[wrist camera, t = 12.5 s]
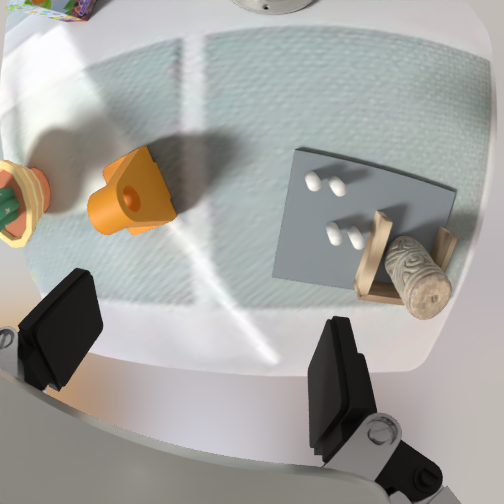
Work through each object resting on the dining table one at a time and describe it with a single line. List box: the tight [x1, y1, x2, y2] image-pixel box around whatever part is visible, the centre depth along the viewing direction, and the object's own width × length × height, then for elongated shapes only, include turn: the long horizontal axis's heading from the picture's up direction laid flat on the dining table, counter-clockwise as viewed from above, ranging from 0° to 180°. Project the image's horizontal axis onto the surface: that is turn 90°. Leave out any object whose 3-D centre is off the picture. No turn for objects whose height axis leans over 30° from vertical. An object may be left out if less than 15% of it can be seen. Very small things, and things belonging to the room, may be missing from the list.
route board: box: [272, 149, 456, 290], centre depth 35 cm, size 18×24×5 cm
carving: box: [384, 236, 452, 320], centre depth 32 cm, size 6×8×12 cm
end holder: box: [353, 211, 458, 305], centre depth 35 cm, size 12×12×4 cm
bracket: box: [87, 146, 177, 235], centre depth 33 cm, size 11×7×12 cm, turn 20°
